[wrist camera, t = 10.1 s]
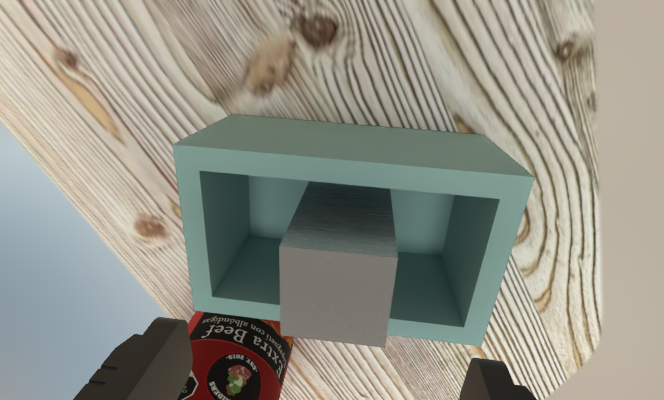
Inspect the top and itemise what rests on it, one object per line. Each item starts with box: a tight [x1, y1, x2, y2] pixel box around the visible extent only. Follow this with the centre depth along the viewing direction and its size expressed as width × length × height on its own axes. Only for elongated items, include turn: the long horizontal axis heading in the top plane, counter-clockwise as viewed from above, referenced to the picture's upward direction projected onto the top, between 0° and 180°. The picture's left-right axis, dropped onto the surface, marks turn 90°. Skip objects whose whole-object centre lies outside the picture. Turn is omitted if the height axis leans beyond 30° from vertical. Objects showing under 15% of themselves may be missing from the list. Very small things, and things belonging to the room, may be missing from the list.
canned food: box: [177, 311, 293, 400], centre depth 22 cm, size 8×8×11 cm
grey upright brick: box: [279, 181, 398, 348], centre depth 17 cm, size 4×4×9 cm
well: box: [173, 114, 535, 346], centre depth 18 cm, size 8×14×7 cm, turn 86°
